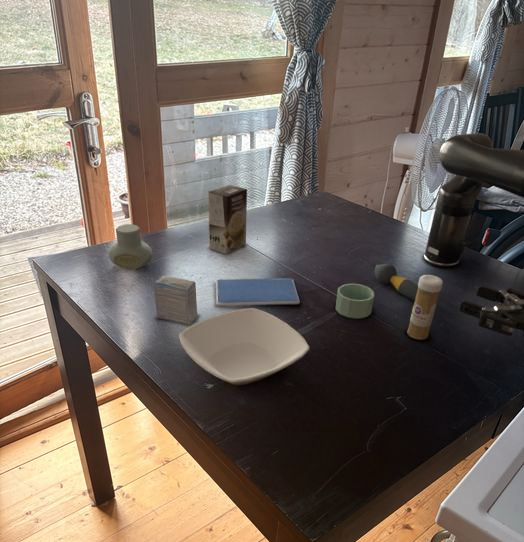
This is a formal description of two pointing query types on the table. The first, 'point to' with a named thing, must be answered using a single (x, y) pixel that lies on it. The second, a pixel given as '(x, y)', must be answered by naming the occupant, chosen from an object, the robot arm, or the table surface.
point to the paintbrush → (396, 280)
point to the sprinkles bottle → (424, 306)
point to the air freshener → (130, 248)
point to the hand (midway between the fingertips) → (470, 297)
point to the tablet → (256, 292)
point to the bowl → (243, 345)
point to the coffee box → (227, 218)
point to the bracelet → (354, 300)
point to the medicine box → (175, 299)
